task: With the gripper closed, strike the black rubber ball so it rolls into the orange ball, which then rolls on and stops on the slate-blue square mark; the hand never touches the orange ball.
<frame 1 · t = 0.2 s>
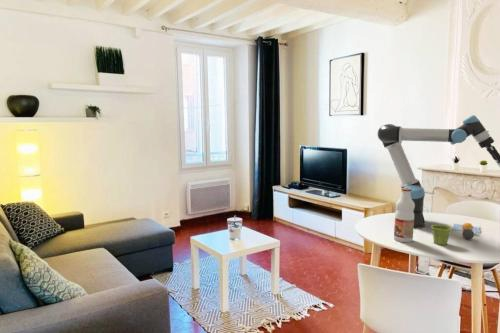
fruit juice: (403, 240, 199), on the table
mark: (466, 228, 221), on the table
ball a: (468, 234, 201), on the table
ball b: (467, 227, 213), on the table
plant pot: (440, 243, 194), on the table
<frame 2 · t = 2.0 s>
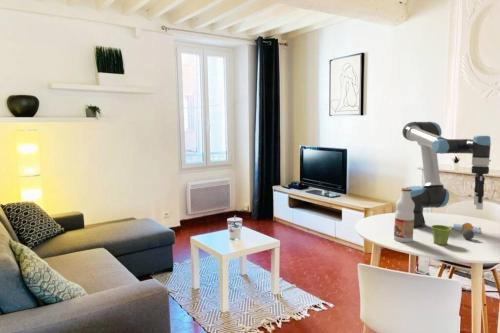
hand: (478, 207, 191), 20 cm above the table, tool pointing down, fingers open, 13 cm apart
nothing on the table moved.
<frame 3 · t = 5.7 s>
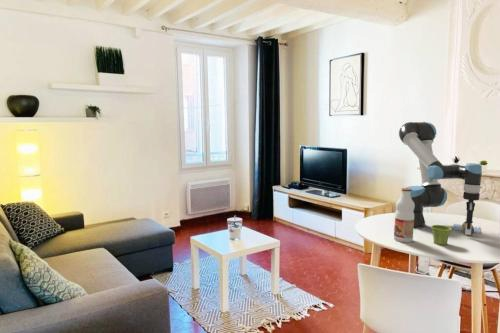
hand: (467, 234, 204), 2 cm above the table, tool pointing down, fingers closed
ball a: (468, 230, 208), on the table
ball b: (467, 226, 215), on the table
everything else where it was.
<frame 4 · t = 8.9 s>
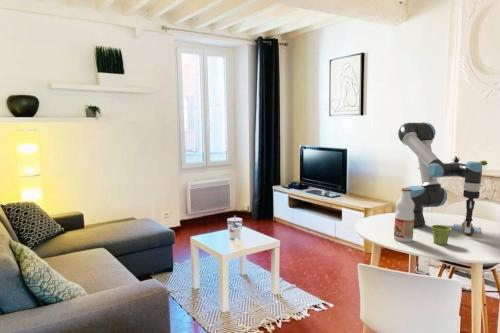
hand: (467, 232, 204), 3 cm above the table, tool pointing down, fingers closed
ball b: (467, 225, 217), on the table
everything else where it was.
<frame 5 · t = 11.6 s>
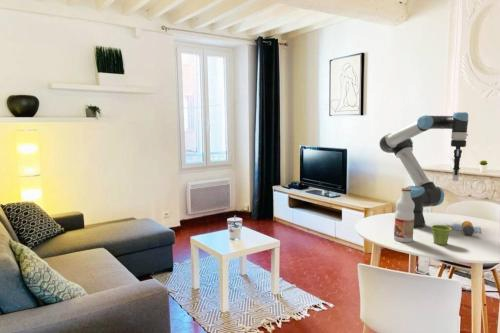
hand: (455, 180, 214), 29 cm above the table, tool pointing down, fingers closed
nothing on the table moved.
at the end: ball b 4.1 cm from the mark (horizontally); ball b never touched the robot; ball a first touched ball b at 5.3 s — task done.
